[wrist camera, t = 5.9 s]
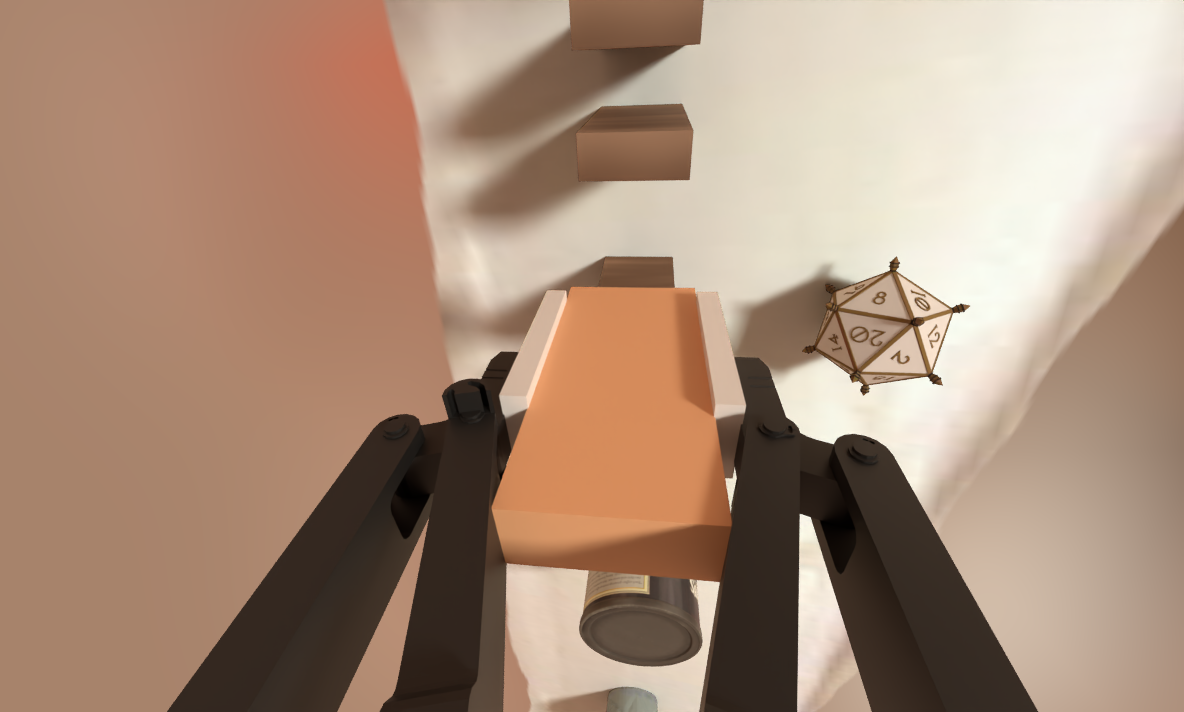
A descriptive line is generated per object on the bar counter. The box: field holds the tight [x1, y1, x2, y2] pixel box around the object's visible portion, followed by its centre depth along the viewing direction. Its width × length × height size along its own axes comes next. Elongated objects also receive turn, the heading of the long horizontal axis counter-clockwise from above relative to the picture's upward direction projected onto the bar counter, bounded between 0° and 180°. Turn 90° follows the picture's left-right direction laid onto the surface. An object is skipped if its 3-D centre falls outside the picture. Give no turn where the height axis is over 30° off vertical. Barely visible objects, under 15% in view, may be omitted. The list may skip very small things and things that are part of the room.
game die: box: [802, 256, 970, 396], centre depth 31 cm, size 9×8×10 cm
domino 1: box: [569, 0, 704, 50], centre depth 22 cm, size 2×5×11 cm, turn 92°
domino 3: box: [598, 257, 675, 288], centre depth 30 cm, size 2×5×11 cm, turn 92°
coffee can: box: [579, 571, 702, 666], centre depth 44 cm, size 10×10×14 cm
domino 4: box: [492, 287, 732, 582], centre depth 14 cm, size 2×5×11 cm, turn 93°
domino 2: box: [576, 104, 693, 181], centre depth 24 cm, size 2×5×11 cm, turn 93°
